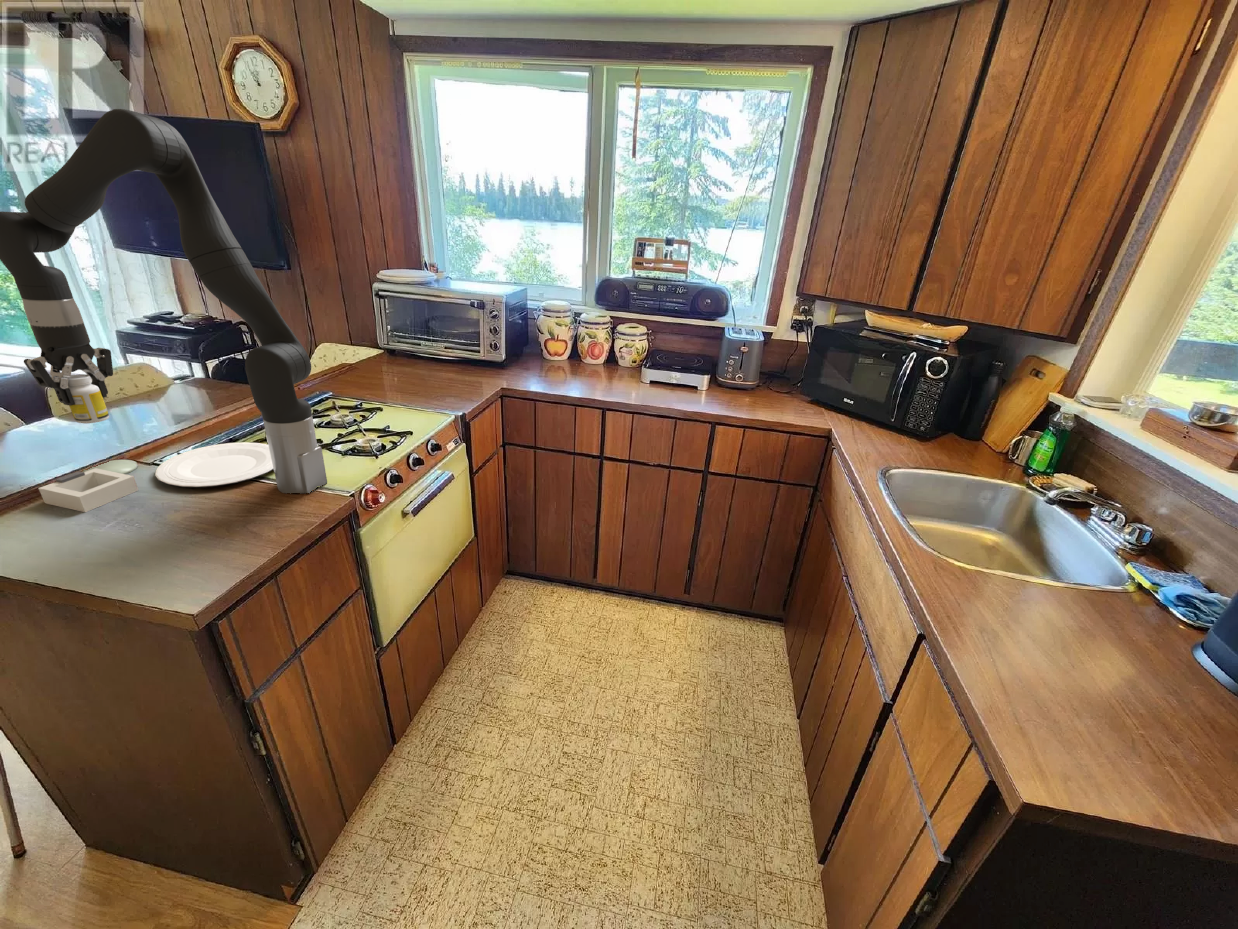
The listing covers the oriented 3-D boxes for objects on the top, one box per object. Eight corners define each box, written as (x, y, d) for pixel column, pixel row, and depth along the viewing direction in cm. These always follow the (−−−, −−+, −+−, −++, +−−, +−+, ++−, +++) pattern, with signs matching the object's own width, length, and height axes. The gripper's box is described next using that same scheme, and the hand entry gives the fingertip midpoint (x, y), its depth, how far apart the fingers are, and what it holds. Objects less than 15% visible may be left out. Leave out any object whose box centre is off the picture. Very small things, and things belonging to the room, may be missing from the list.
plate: (254, 440, 136) (252, 434, 136) (306, 467, 126) (305, 460, 125) (137, 470, 116) (134, 463, 116) (187, 505, 106) (185, 497, 105)
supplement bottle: (107, 414, 113) (92, 372, 109) (112, 420, 110) (97, 377, 106) (73, 418, 109) (56, 375, 105) (77, 426, 106) (60, 381, 102)
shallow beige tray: (138, 490, 108) (132, 473, 107) (85, 512, 99) (78, 494, 98) (100, 482, 110) (94, 465, 108) (45, 503, 101) (37, 485, 99)
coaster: (147, 465, 118) (147, 463, 118) (105, 481, 110) (104, 479, 110) (116, 459, 119) (115, 457, 119) (72, 474, 111) (71, 472, 111)
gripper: (26, 328, 94) (60, 413, 101) (111, 319, 107) (136, 394, 114) (-5, 323, 95) (30, 407, 102) (82, 314, 108) (109, 389, 115)
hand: (86, 400), depth 108 cm, fingers closed on supplement bottle, 5 cm apart
